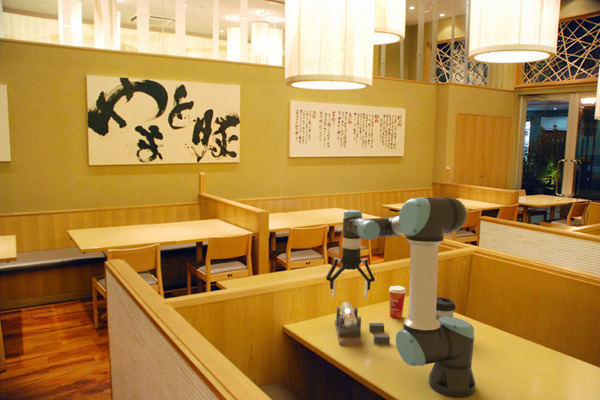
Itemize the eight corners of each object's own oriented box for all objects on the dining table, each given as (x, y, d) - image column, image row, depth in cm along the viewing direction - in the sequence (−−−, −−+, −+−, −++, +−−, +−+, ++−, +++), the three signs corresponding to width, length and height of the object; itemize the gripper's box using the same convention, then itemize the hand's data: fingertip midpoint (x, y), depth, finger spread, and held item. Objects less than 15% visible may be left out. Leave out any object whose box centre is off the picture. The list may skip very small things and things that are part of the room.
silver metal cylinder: (357, 329, 194) (357, 316, 193) (344, 329, 194) (344, 316, 193) (352, 312, 211) (352, 301, 211) (340, 312, 211) (340, 301, 211)
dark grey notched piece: (361, 345, 192) (362, 322, 191) (339, 344, 192) (340, 322, 191) (354, 323, 214) (355, 303, 213) (334, 323, 214) (335, 303, 213)
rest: (389, 344, 194) (389, 337, 194) (374, 344, 194) (375, 337, 194) (382, 329, 209) (383, 323, 209) (369, 329, 209) (369, 322, 208)
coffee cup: (459, 337, 203) (462, 303, 201) (437, 341, 199) (439, 306, 196) (442, 327, 213) (444, 295, 211) (420, 330, 209) (423, 297, 207)
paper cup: (384, 314, 226) (385, 286, 224) (397, 312, 230) (399, 284, 228) (394, 320, 219) (395, 291, 217) (407, 318, 223) (409, 289, 221)
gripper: (379, 245, 202) (377, 294, 205) (320, 244, 202) (319, 293, 204) (383, 249, 195) (380, 300, 197) (321, 248, 194) (320, 299, 197)
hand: (349, 297), depth 201 cm, fingers open, 13 cm apart
